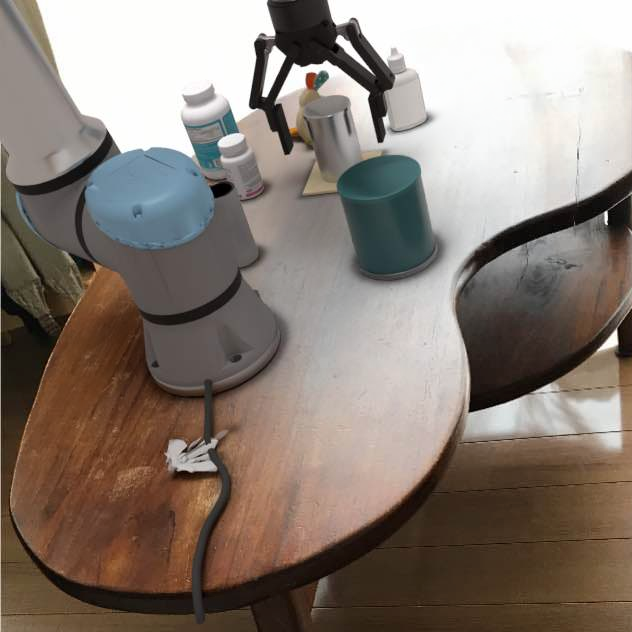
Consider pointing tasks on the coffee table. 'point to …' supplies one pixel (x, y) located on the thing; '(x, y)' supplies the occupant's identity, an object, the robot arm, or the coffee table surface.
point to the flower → (191, 455)
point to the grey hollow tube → (234, 222)
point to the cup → (332, 135)
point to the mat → (321, 186)
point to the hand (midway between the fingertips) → (335, 144)
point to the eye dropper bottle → (404, 95)
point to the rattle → (305, 98)
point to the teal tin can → (388, 216)
